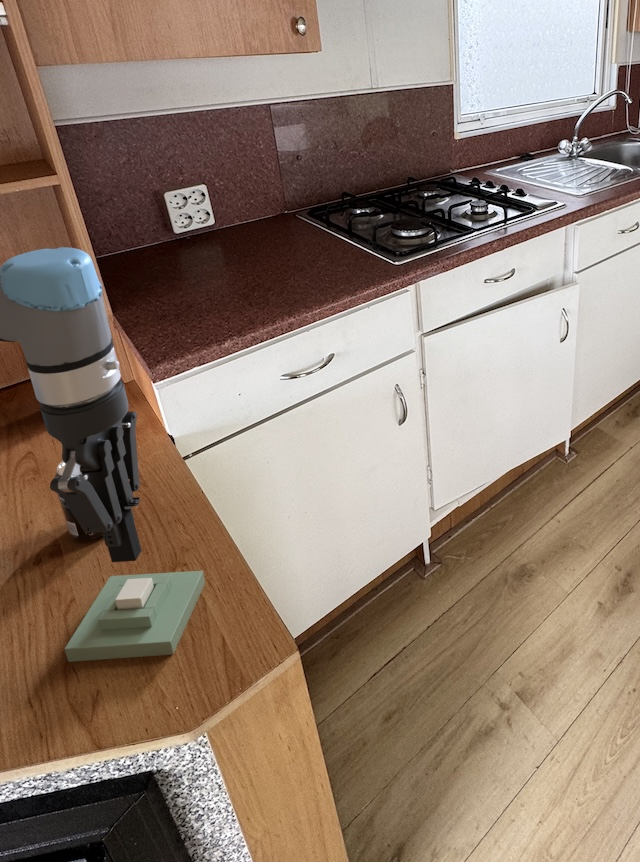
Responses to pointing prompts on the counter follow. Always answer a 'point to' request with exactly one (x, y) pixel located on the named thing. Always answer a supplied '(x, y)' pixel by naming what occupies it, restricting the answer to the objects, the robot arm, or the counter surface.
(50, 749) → the counter surface
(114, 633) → the tiered green stack
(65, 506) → the beverage can
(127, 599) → the small white rectangular block
